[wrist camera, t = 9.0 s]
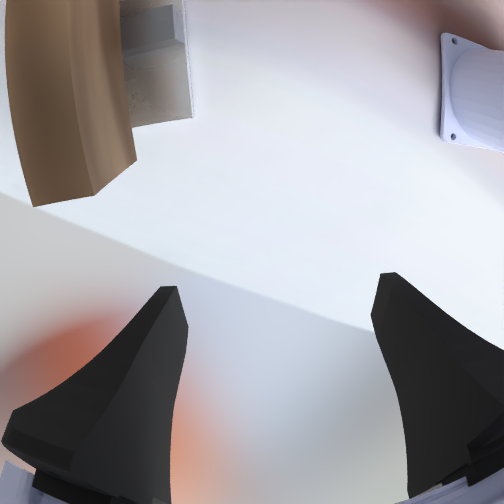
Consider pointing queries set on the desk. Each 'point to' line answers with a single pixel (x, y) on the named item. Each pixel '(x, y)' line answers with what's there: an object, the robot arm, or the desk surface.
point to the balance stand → (155, 61)
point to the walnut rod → (67, 96)
